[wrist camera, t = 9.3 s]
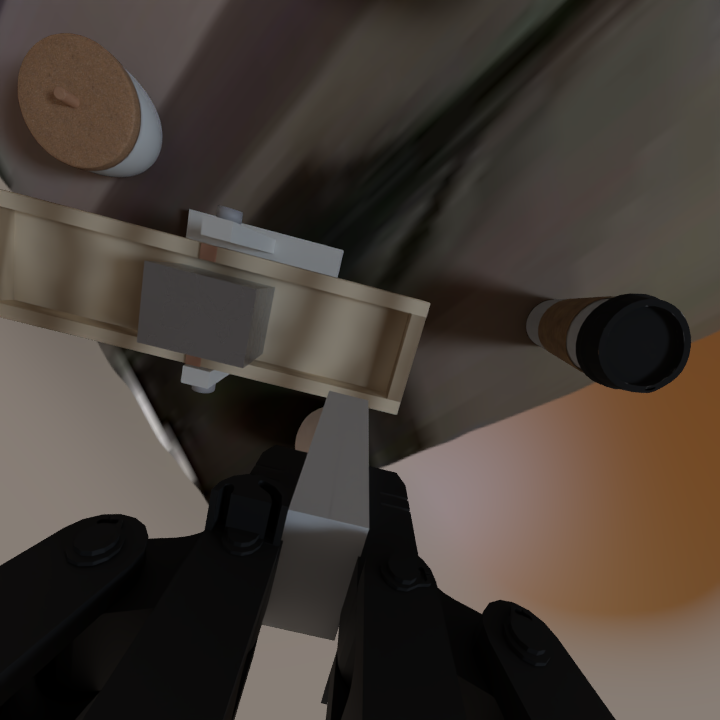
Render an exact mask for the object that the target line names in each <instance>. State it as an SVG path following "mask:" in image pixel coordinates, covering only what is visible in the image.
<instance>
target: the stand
mask: <svg viewBox="0 0 720 720" xmlns="http://www.w3.org/2000/svg"><path fill="white" fill-rule="evenodd" d="M242 216H243V213H242V212H240V211H237V210H234V209H231V208H228V207H224V206H219V205H218V208H217V215H216V216H213V215H209V214H206V213H202V212H198V211H194V210H191V209H189V217H188V225H187V233H186V238H189V239H193V240H196V241H200V242H204V243H208V244H212V245H215V246H219V247H223V248H227V249H230V250H234V251H238V252H242V253H246V254H249V255H253V256H257V257H261V258H265V259H268V260H272V261H276V262H280V263H284V264H287V265H291V266H295V267H299V268H302V269H306V270H310V271H314V272H318V273H321V274H325V275H329V276H333V277H337V278H338V274H339V269H340V265H341V261H342V256H343V252H344V251H343V250H340V249H336V248H333V247H329V246H325V245H321V244H318V243H314V242H310V241H306V240H303V239H299V238H295V237H292V236H288V235H284V234H280V233H277V232H273V231H269V230H265V229H262V228H258V227H254V226H250V225H247V224H243V223H242ZM227 375H229V373H225V372H221V371H216V370H212V369H208V368H204V367H197V366H193V365H188V364H185V365H183V371H182V378H181V382H182V383H186V384H190V385H192V389H193V390H194V391H196V392H200V393H211V392H213V391H214V390H215V385H216V383H217V382H218V381H220V380H221V379H223V378H224V377H226V376H227Z"/></svg>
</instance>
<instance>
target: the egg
mask: <svg viewBox="0 0 720 720" xmlns="http://www.w3.org/2000/svg"><path fill="white" fill-rule="evenodd" d="M322 410H323V408H319V409H317V410H316V411H314V412H312V413H311V414H310V415H308V416H307V417H306V418H305V420H304V421H303V422H302V424H301V426H300V428H299V430H298V433H297V436H296V443H295V450H299V451H303V452H307V453H308V451H309V448H310V445H311V442H312V439H313V436H314V434H315V431H316V428H317V425H318V422H319V419H320V416H321V413H322Z"/></svg>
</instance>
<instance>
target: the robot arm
mask: <svg viewBox="0 0 720 720" xmlns="http://www.w3.org/2000/svg"><path fill="white" fill-rule="evenodd" d="M407 499H408V497H407V492H406V487H405V484H404V483H403V482H402V480H401V479H400V477H399V476H398V475H397V473H395V472H391V471H386V470H383V469H378V468H374V467H370V466H369V426H368V400H365V399H361V398H357V397H353V396H349V395H345V394H341V393H337V392H333V391H329V393H328V396H327V399H326V402H325V405H324V407H323V410H322V413H321V416H320V419H319V422H318V425H317V428H316V431H315V434H314V436H313V439H312V442H311V445H310V448H309V451H308V453H307V452H303V451H299V450H295V449H290V448H286V447H282V446H278V445H275V446H273V447H271V448H270V449H268V450H266V451H265V452H263V453H262V455H261V456H260V458H259V460H258V461H257V463H256V466H254V468H253V470H252V471H251V473H250V474H245V475H237V476H232V477H230V478H227V479H225V480H222V481H221V482H219V483H218V484H217V485H216V486H215V487H214V488H213V489H212V491H211V497H210V502H209V508H208V514H207V520H206V526H205V530H204V531H203V532H201V533H198V534H195V535H191V536H186V537H178V538H157V539H148V534H147V530H146V527H145V525H144V524H142V523H141V522H140V521H139V520H137V519H136V518H133V517H130V516H126V515H122V514H107V515H106V514H105V515H99V516H95V517H90V518H86V519H82V520H80V521H78V522H76V523H74V524H72V525H69V526H67V527H65V528H63V529H61V530H60V531H58V532H56V533H54V534H53V535H51V536H50V537H48V538H46V539H44V540H43V541H41V542H39V543H38V544H36V545H34V546H33V547H31V548H29V549H28V550H26V551H24V552H22V553H21V554H19V555H17V556H16V557H14V558H13V559H11V560H9V561H7V562H6V563H4V564H3V565H1V566H0V720H234V719H235V715H236V712H237V709H238V705H239V702H240V699H241V696H242V692H243V689H244V685H245V682H246V679H247V676H248V672H249V669H250V665H251V662H252V659H253V655H254V651H255V647H256V643H257V638H258V635H259V632H260V628H261V625H266V626H271V627H275V628H280V629H284V630H289V631H294V632H298V633H303V634H307V635H311V636H316V637H320V638H325V639H329V640H335V637H336V634H337V631H338V627H339V635H338V648H337V652H336V655H335V659H334V662H333V665H332V668H331V672H330V674H329V678H328V681H327V684H326V687H325V691H324V694H323V698H322V701H321V703H323V704H327V714H326V720H616V719H615V718H614V717H613V716H612V714H611V713H610V711H609V710H608V708H607V707H606V705H605V704H604V703H603V701H602V700H601V699H600V697H599V696H598V694H597V693H596V691H595V690H594V689H593V687H592V686H591V684H590V683H589V682H588V681H587V679H586V677H585V676H584V675H583V673H582V672H581V670H580V669H579V668H578V666H577V665H576V664H575V662H574V661H573V659H572V658H571V656H570V655H569V654H568V652H567V651H566V649H565V648H564V647H563V645H562V644H561V642H560V641H559V639H558V638H557V637H556V636H555V635H554V634H553V632H552V631H551V630H550V629H549V628H548V627H547V625H546V624H545V623H544V622H543V621H541V620H540V619H539V618H538V617H536V616H535V615H534V614H533V613H531V612H530V611H529V610H527V609H525V608H523V607H521V606H519V605H517V604H515V603H513V602H508V601H503V600H498V601H495V602H491V603H489V604H488V606H487V607H486V609H485V610H484V611H483V614H481V613H479V612H477V611H475V610H473V609H471V608H469V607H467V606H466V605H464V604H462V603H460V602H458V601H456V600H454V599H452V598H451V597H450V596H448V595H446V594H445V593H443V592H442V591H441V590H440V589H439V588H437V584H436V581H435V578H434V576H433V574H432V571H431V570H430V568H429V567H428V566H427V564H426V563H425V562H424V561H423V560H422V559H421V558H420V557H419V556H418V552H417V546H416V541H415V536H414V530H413V524H412V519H411V514H410V512H409V511H410V508H409V503H408V501H407ZM327 702H328V703H327Z"/></svg>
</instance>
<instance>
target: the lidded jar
mask: <svg viewBox="0 0 720 720" xmlns="http://www.w3.org/2000/svg"><path fill="white" fill-rule="evenodd" d="M18 99H19V104H20V109H21V112H22V115H23V118H24V120H25V122H26V124H27V126H28V128H29V130H30V132H31V133H32V135H33V136H34V138H35V139H36V140H37V142H38V143H39V144H40V145H41V146H42V147H43V148H44V149H45V150H46V151H47V152H48V153H49V154H50V155H52V156H53V157H55V158H56V159H57V160H59V161H61V162H63V163H65V164H67V165H70V166H73V167H76V168H78V169H82V170H87V171H90V172H93V173H96V174H99V175H104V176H109V177H130V176H135V175H138V174H141V173H143V172H144V171H146V170H147V169H148V168H150V167H151V166H152V165H153V164H154V162H155V161H156V159H157V158H158V156H159V153H160V150H161V146H162V127H161V123H160V118H159V116H158V113H157V111H156V108H155V106H154V104H153V102H152V101H151V99H150V97H149V96H148V94H147V93H146V91H145V90H144V89H143V87H142V86H141V85H140V83H139V82H138V81H137V80H136V79H135V78H134V77H133V76H132V75H131V74H130V73H129V72H128V71H127V70H126V69H125V68H124V67H123V66H122V65H121V64H120V63H119V62H118V60H117V59H116V58H115V57H114V56H113V55H112V54H111V53H109V52H108V51H107V50H106V49H104V48H103V47H102V46H101V45H99V44H98V43H96V42H94V41H93V40H91V39H89V38H86V37H83V36H81V35H76V34H71V33H61V34H55V35H50V36H48V37H46V38H44V39H42V40H40V41H39V42H37V43H36V44H35V45H34V46H33V47H32V48H31V49H30V50H29V52H28V53H27V55H26V56H25V58H24V60H23V62H22V65H21V68H20V72H19V76H18Z"/></svg>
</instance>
